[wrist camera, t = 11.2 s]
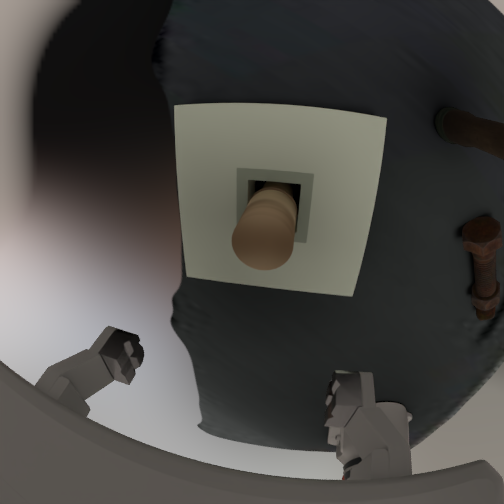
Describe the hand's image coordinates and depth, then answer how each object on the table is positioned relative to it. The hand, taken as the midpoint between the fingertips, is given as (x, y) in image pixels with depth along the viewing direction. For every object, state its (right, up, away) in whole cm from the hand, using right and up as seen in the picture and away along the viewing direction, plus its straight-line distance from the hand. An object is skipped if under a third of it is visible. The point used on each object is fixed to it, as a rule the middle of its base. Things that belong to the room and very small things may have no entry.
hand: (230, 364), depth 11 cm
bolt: (+30, +2, +18) cm, 35 cm away
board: (+3, +10, +18) cm, 21 cm away
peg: (+3, +10, +18) cm, 21 cm away
